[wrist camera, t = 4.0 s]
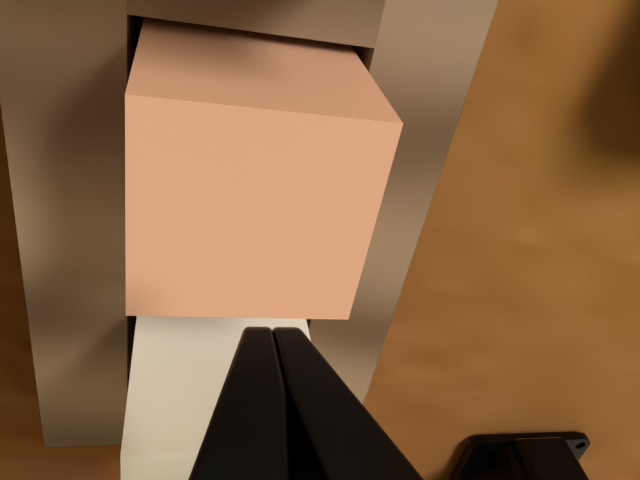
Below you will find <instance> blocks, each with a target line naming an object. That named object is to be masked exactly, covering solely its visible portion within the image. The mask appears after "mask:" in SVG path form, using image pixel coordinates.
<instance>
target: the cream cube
mask: <svg viewBox="0 0 640 480" xmlns="http://www.w3.org/2000/svg"><path fill="white" fill-rule="evenodd" d="M248 326H253V327H269V328H271V329H272V330H273V329H274V328H275V327H297V328H299V329H301V330H302V331H303V332H304V334H305V335H306V336H307V337H308V338H309V340H310V341H311V339H310V334H309V330H308V325H307V321H306V319H285V318H229V317H173V316H137V317H136V326H135V335H134V343H133V352H132V360H131V369H130V378H129V386H128V395H127V403H126V412H125V420H124V429H123V438H122V446H121V455H120V462H121V480H188V479H189V476H190V474H191V471H192V468H193V466H194V463H195V460H196V457H197V455H198V452H199V449H200V447H201V444H202V441H203V438H204V436H205V433H206V430H207V428H208V425H209V422H210V419H211V417H212V414H213V411H214V409H215V406H216V403H217V400H218V398H219V395H220V392H221V390H222V387H223V384H224V381H225V379H226V376H227V373H228V371H229V368H230V365H231V362H232V360H233V357H234V354H235V352H236V349H237V346H238V343H239V341H240V338H241V335H242V333H243V330H244V329H245V328H246V327H248Z"/></svg>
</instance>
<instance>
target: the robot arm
mask: <svg viewBox="0 0 640 480" xmlns="http://www.w3.org/2000/svg"><path fill="white" fill-rule="evenodd" d="M589 445H590V440H589V439H588V437H587V436H586V434H585V433H552V434H523V435H495V436H479V437H476V438H474V439H472V440H471V441H470V443H469V444H468V446H467V448H466V450H465V452H464V454H463V456H462V458H461V460H460V462H459V464H458V466H457V468H456V470H455V472H454V474H453V475H452V477H451V479H450V480H589V479H588V477H587V475H586V474H585V472H584V470H583V468H582V467H581V465H580V463H579V462H578V461H579V459H580V458H581V456H582V455H583V453H584V452H585V450H586V449H587V448H588V446H589ZM188 480H424V479H423V478H422V477H421V476H420V474H419V473H418V472H417V471H416V469H415V468H414V467H413V466H412V465H411V463H410V462H409V461H408V460H407V458H406V457H405V456H404V455H403V454H402V452H401V451H400V450H399V449H398V447H397V446H396V445H395V444H394V443H393V441H392V440H391V439H390V438H389V436H388V435H387V434H386V433H385V431H384V430H383V429H382V428H381V427H380V425H379V424H378V423H377V422H376V420H375V419H374V418H373V417H372V416H371V414H370V413H369V412H368V411H367V409H366V408H365V407H364V406H363V405H362V403H361V402H360V401H359V400H358V398H357V397H356V396H355V395H354V394H353V392H352V391H351V390H350V389H349V387H348V386H347V385H346V384H345V383H344V381H343V380H342V379H341V378H340V376H339V375H338V374H337V373H336V371H335V370H334V369H333V368H332V367H331V365H330V364H329V363H328V362H327V360H326V359H325V358H324V357H323V356H322V354H321V353H320V352H319V351H318V349H317V348H316V347H315V346H314V345H313V343H312V342H311V341H310V340H309V338H308V337H307V336H306V335H305V334H304V332H303V331H302V330H301V329H299V328H297V327H275V328H274V329H273V330H272V329H271V328H269V327H253V326H248V327H246V328H245V329H244V330H243V333H242V335H241V338H240V341H239V343H238V346H237V349H236V352H235V354H234V357H233V360H232V362H231V365H230V368H229V371H228V373H227V376H226V379H225V381H224V384H223V387H222V390H221V392H220V395H219V398H218V400H217V403H216V406H215V409H214V411H213V414H212V417H211V419H210V422H209V425H208V428H207V430H206V433H205V436H204V438H203V441H202V444H201V447H200V449H199V452H198V455H197V457H196V460H195V463H194V466H193V468H192V471H191V474H190V476H189V479H188Z"/></svg>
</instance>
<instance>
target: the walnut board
mask: <svg viewBox="0 0 640 480" xmlns="http://www.w3.org/2000/svg"><path fill="white" fill-rule="evenodd" d="M497 3H498V0H0V104H1V112H2V120H3V128H4V136H5V143H6V151H7V159H8V167H9V175H10V182H11V190H12V198H13V206H14V214H15V222H16V229H17V237H18V245H19V253H20V261H21V268H22V276H23V284H24V292H25V300H26V308H27V315H28V323H29V331H30V339H31V347H32V354H33V362H34V370H35V378H36V386H37V394H38V401H39V409H40V417H41V425H42V433H43V440H44V448H47V447H77V446H107V445H122V438H123V429H124V420H125V412H126V403H127V395H128V386H129V378H130V369H131V360H132V352H133V316H126V252H125V92H126V88H127V84H128V80H129V76H130V72H131V68H132V64H133V60H134V56H135V15H136V16H143V17H150V18H158V19H165V20H172V21H179V22H187V23H194V24H201V25H209V26H216V27H223V28H231V29H238V30H245V31H252V32H260V33H267V34H274V35H282V36H289V37H296V38H304V39H311V40H318V41H325V42H333V43H340V44H347V45H351V47H352V48H353V50H354V51H355V53H356V54H357V56H358V57H359V59H360V60H361V62H362V63H363V65H364V66H365V68H366V69H367V71H368V72H369V73H370V75H371V76H372V78H373V79H374V81H375V82H376V84H377V85H378V87H379V88H380V90H381V91H382V93H383V94H384V96H385V97H386V99H387V100H388V102H389V103H390V105H391V106H392V108H393V109H394V110H395V112H396V113H397V115H398V116H399V118H400V119H401V121H402V122H403V127H402V130H401V134H400V137H399V141H398V144H397V148H396V152H395V155H394V159H393V162H392V166H391V169H390V173H389V177H388V180H387V184H386V187H385V191H384V194H383V198H382V202H381V205H380V209H379V212H378V216H377V219H376V223H375V227H374V230H373V234H372V237H371V241H370V244H369V248H368V251H367V255H366V259H365V262H364V266H363V269H362V273H361V276H360V280H359V284H358V287H357V291H356V294H355V298H354V301H353V305H352V309H351V312H350V316H349V319H348V320H341V319H306V321H307V325H308V330H309V334H310V339H311V342H312V343H313V345H314V346H315V347H316V348H317V349H318V351H319V352H320V353H321V354H322V356H323V357H324V358H325V359H326V360H327V362H328V363H329V364H330V365H331V367H332V368H333V369H334V370H335V371H336V373H337V374H338V375H339V376H340V378H341V379H342V380H343V381H344V383H345V384H346V385H347V386H348V387H349V389H350V390H351V391H352V392H353V394H354V395H355V396H356V397H357V398H358V400H359V401H360V402H361V403H362V405H363V403H364V400H365V397H366V394H367V391H368V388H369V385H370V382H371V379H372V376H373V373H374V370H375V367H376V364H377V361H378V358H379V355H380V352H381V349H382V346H383V343H384V340H385V337H386V334H387V331H388V328H389V325H390V322H391V319H392V316H393V313H394V310H395V307H396V304H397V302H398V299H399V296H400V293H401V290H402V287H403V284H404V281H405V278H406V275H407V272H408V269H409V266H410V263H411V260H412V257H413V254H414V251H415V248H416V245H417V242H418V239H419V236H420V233H421V230H422V227H423V224H424V221H425V218H426V215H427V212H428V209H429V206H430V203H431V200H432V197H433V194H434V191H435V188H436V185H437V182H438V179H439V176H440V173H441V170H442V167H443V164H444V161H445V158H446V155H447V152H448V149H449V146H450V143H451V140H452V137H453V134H454V131H455V129H456V126H457V123H458V120H459V117H460V114H461V111H462V108H463V105H464V102H465V99H466V96H467V93H468V90H469V87H470V84H471V81H472V78H473V75H474V72H475V69H476V66H477V63H478V60H479V57H480V54H481V51H482V48H483V45H484V42H485V39H486V36H487V33H488V30H489V27H490V24H491V21H492V18H493V15H494V12H495V9H496V6H497Z"/></svg>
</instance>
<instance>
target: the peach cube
mask: <svg viewBox="0 0 640 480" xmlns="http://www.w3.org/2000/svg"><path fill="white" fill-rule="evenodd" d="M402 127H403V122H402V121H401V119H400V118H399V116H398V115H397V113H396V112H395V110H394V109H393V108H392V106H391V105H390V103H389V102H388V100H387V99H386V97H385V96H384V94H383V93H382V91H381V90H380V88H379V87H378V85H377V84H376V82H375V81H374V79H373V78H372V76H371V75H370V73H369V72H368V71H367V69H366V68H365V66H364V65H363V63H362V62H361V60H360V59H359V57H358V56H357V54H356V53H355V51H354V50H353V48H352V47H351V45H347V44H340V43H333V42H325V41H318V40H311V39H304V38H296V37H289V36H282V35H274V34H267V33H260V32H252V31H245V30H238V29H231V28H223V27H216V26H209V25H201V24H194V23H187V22H179V21H172V20H165V19H158V18H150V17H144V20H143V24H142V28H141V32H140V36H139V40H138V44H137V48H136V52H135V56H134V60H133V64H132V68H131V72H130V76H129V80H128V84H127V88H126V92H125V252H126V316H173V317H229V318H285V319H341V320H348V319H349V316H350V312H351V309H352V305H353V301H354V298H355V294H356V291H357V287H358V284H359V280H360V276H361V273H362V269H363V266H364V262H365V259H366V255H367V251H368V248H369V244H370V241H371V237H372V234H373V230H374V227H375V223H376V219H377V216H378V212H379V209H380V205H381V202H382V198H383V194H384V191H385V187H386V184H387V180H388V177H389V173H390V169H391V166H392V162H393V159H394V155H395V152H396V148H397V144H398V141H399V137H400V134H401V130H402Z"/></svg>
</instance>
